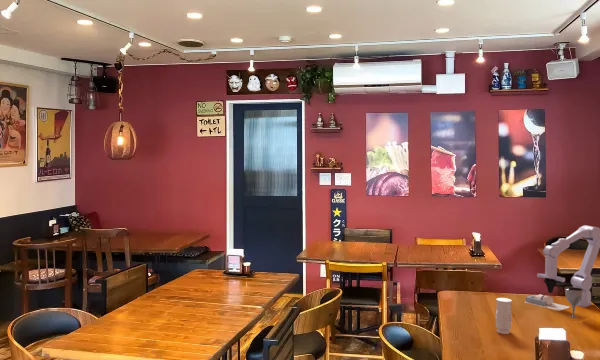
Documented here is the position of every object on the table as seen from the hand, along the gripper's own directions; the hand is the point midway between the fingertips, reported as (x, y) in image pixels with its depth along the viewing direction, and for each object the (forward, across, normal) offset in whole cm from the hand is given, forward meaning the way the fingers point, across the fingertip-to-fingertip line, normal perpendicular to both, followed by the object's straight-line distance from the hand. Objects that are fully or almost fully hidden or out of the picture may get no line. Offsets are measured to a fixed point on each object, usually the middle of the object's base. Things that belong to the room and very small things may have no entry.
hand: (550, 292), depth 282 cm
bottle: (+5, 0, 0) cm, 5 cm away
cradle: (+8, -2, 0) cm, 8 cm away
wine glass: (+8, +18, -11) cm, 22 cm away
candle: (+8, +9, -59) cm, 60 cm away
